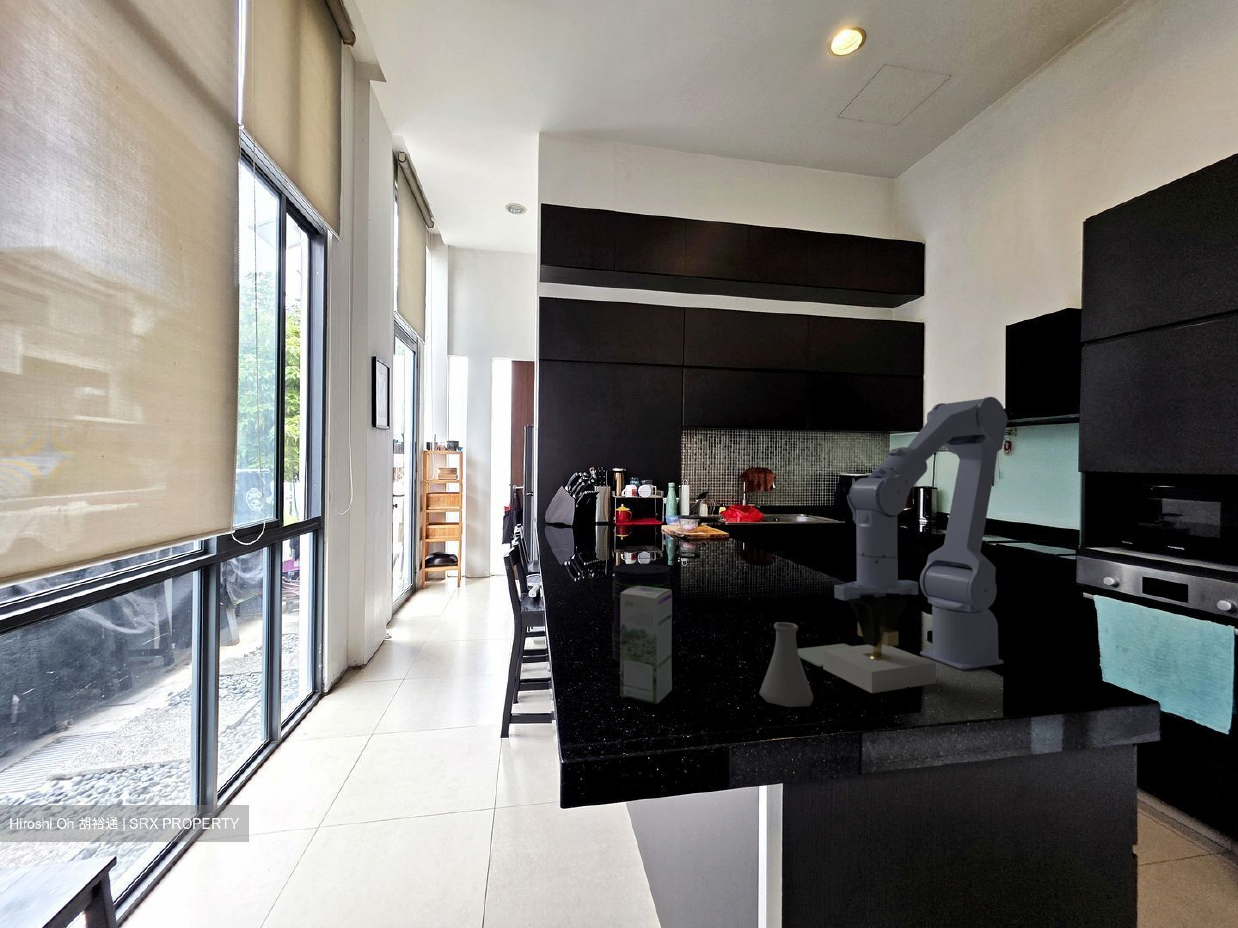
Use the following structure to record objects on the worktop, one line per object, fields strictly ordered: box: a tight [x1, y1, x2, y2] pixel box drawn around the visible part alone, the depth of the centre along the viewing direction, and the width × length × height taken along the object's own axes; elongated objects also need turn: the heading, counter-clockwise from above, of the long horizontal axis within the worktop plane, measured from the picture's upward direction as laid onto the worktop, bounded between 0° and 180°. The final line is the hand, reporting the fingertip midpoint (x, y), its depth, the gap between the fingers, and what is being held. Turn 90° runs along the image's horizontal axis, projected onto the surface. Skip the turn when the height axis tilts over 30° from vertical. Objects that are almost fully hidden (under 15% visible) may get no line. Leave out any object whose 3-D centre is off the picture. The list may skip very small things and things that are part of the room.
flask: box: [758, 621, 814, 708], centre depth 73 cm, size 7×7×10 cm
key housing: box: [822, 644, 937, 694], centre depth 81 cm, size 12×10×3 cm
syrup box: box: [619, 586, 673, 705], centre depth 74 cm, size 6×6×14 cm
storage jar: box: [611, 562, 671, 663], centre depth 90 cm, size 10×10×15 cm
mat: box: [797, 643, 852, 667], centre depth 90 cm, size 12×8×1 cm, turn 109°
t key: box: [857, 621, 899, 661], centre depth 81 cm, size 6×2×8 cm, turn 19°
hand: (877, 643), depth 81 cm, fingers closed on t key, 2 cm apart
